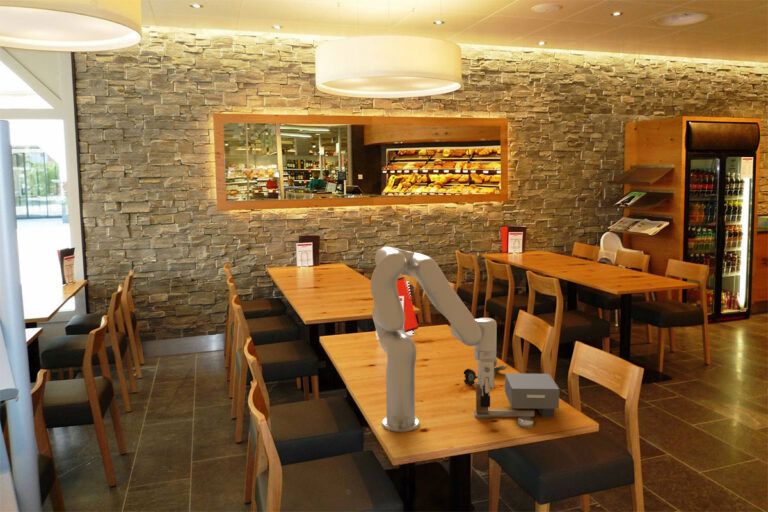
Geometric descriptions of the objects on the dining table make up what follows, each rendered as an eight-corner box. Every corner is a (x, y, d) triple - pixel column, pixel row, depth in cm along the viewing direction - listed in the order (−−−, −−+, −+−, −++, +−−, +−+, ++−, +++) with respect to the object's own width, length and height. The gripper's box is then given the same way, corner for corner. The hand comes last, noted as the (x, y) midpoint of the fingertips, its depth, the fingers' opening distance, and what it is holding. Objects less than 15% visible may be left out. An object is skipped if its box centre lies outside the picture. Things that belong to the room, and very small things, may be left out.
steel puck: (534, 428, 198) (534, 422, 198) (519, 428, 198) (519, 422, 198) (531, 422, 203) (531, 416, 202) (517, 422, 203) (517, 416, 203)
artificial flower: (459, 385, 243) (456, 360, 245) (496, 380, 256) (494, 357, 258) (474, 385, 236) (472, 360, 238) (512, 380, 249) (509, 356, 251)
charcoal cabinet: (558, 420, 203) (559, 389, 202) (511, 420, 204) (512, 389, 203) (548, 402, 220) (549, 373, 218) (504, 401, 221) (505, 373, 219)
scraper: (535, 418, 205) (535, 384, 203) (475, 418, 206) (475, 384, 205) (533, 413, 209) (533, 380, 207) (474, 413, 210) (474, 381, 208)
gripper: (499, 361, 197) (498, 414, 199) (493, 347, 213) (492, 396, 215) (476, 361, 197) (476, 414, 200) (472, 347, 213) (471, 396, 216)
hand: (484, 404), depth 207 cm, fingers closed on scraper, 2 cm apart
